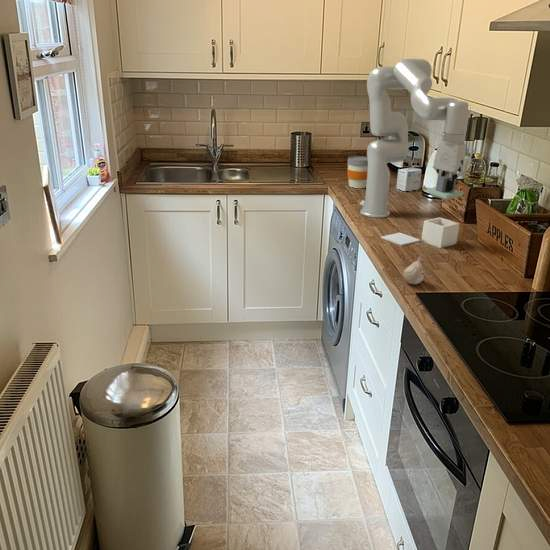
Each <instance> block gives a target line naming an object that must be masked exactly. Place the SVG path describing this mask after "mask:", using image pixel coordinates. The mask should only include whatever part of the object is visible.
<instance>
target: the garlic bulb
mask: <svg viewBox="0 0 550 550" xmlns="http://www.w3.org/2000/svg"><path fill="white" fill-rule="evenodd" d="M422 261H423V257H421V256H420V255H419V257H418V258H417V260H415V261H413V263H412V262H411V264H410V265H409V266H407V267H406V268H404V270H403V275H402V276H403V278H404V280H405V281H406V283H408V284H409V285H418V284H420V283H422V281H423V280H424V276H425V272H424V267H423V265H422V263H421V262H422Z"/></svg>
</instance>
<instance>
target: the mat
mask: <svg viewBox="0 0 550 550" xmlns="http://www.w3.org/2000/svg"><path fill="white" fill-rule="evenodd" d="M380 239H383V240H384V241H387V242H390V243H393V244H395V245H397V246H406V245H409V244H414V243H418V242H421V239H419V238H417V237H413V236H411V235H409V234H405V233H402V232H396V233H391V234H387V235H384V236H383V235H382V236H380Z"/></svg>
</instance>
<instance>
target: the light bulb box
mask: <svg viewBox="0 0 550 550" xmlns="http://www.w3.org/2000/svg"><path fill="white" fill-rule="evenodd" d="M421 178H422V169H421V168H417V167H407V168H401V169H400V168H398V170H397V178H396V188H397V189H400V190H402V191H410V192H412V191H411V190H416V189H419V190H420V186H421ZM396 188H395V189H396ZM402 191H401V192H402ZM416 191H417V190H416Z"/></svg>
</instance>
